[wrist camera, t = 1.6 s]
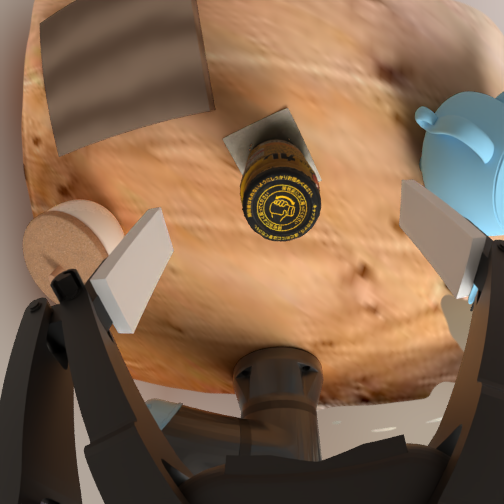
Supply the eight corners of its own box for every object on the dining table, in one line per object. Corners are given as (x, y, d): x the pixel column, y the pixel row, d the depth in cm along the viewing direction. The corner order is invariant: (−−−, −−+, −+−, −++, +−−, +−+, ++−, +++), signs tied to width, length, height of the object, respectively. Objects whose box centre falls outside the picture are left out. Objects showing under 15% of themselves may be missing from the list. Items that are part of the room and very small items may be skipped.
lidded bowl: (60, 178, 29) (4, 213, 20) (145, 194, 31) (98, 240, 21) (66, 259, 36) (25, 306, 26) (139, 281, 37) (108, 339, 27)
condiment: (259, 207, 31) (258, 267, 21) (222, 138, 27) (196, 163, 17) (321, 179, 29) (353, 228, 19) (287, 107, 25) (304, 111, 15)
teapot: (412, 236, 32) (469, 307, 20) (384, 77, 23) (467, 73, 11) (498, 207, 29) (560, 257, 17) (486, 71, 20) (567, 82, 8)
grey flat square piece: (215, 109, 26) (209, 110, 23) (73, 151, 28) (59, 157, 25) (191, -34, 17) (184, -44, 14) (54, 25, 19) (39, 23, 16)
